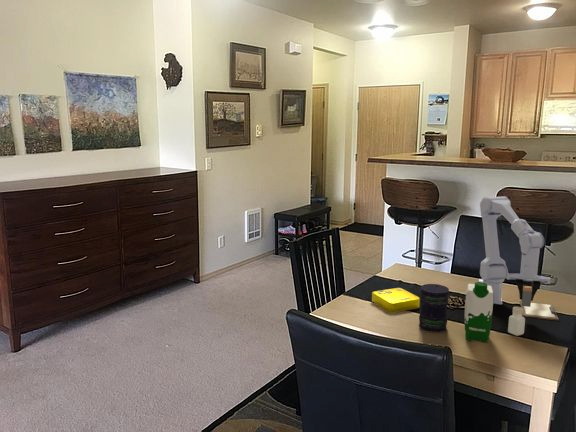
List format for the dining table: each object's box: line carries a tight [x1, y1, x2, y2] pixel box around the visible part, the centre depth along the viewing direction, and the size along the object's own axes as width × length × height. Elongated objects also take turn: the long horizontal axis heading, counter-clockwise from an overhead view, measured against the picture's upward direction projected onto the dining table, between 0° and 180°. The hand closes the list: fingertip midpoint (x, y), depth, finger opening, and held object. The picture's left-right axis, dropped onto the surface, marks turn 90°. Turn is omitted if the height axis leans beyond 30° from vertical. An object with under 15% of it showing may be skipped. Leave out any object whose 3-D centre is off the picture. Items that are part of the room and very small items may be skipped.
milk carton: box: [463, 281, 494, 343], centre depth 164 cm, size 9×9×20 cm
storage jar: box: [418, 283, 450, 334], centre depth 173 cm, size 10×10×15 cm
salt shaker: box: [507, 306, 526, 337], centre depth 168 cm, size 4×4×10 cm
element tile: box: [371, 287, 421, 313], centre depth 197 cm, size 15×15×5 cm
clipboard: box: [519, 300, 560, 322], centre depth 189 cm, size 12×16×2 cm
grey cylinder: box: [520, 285, 532, 307], centre depth 179 cm, size 3×3×7 cm
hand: (526, 299), depth 180 cm, fingers closed on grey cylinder, 3 cm apart
